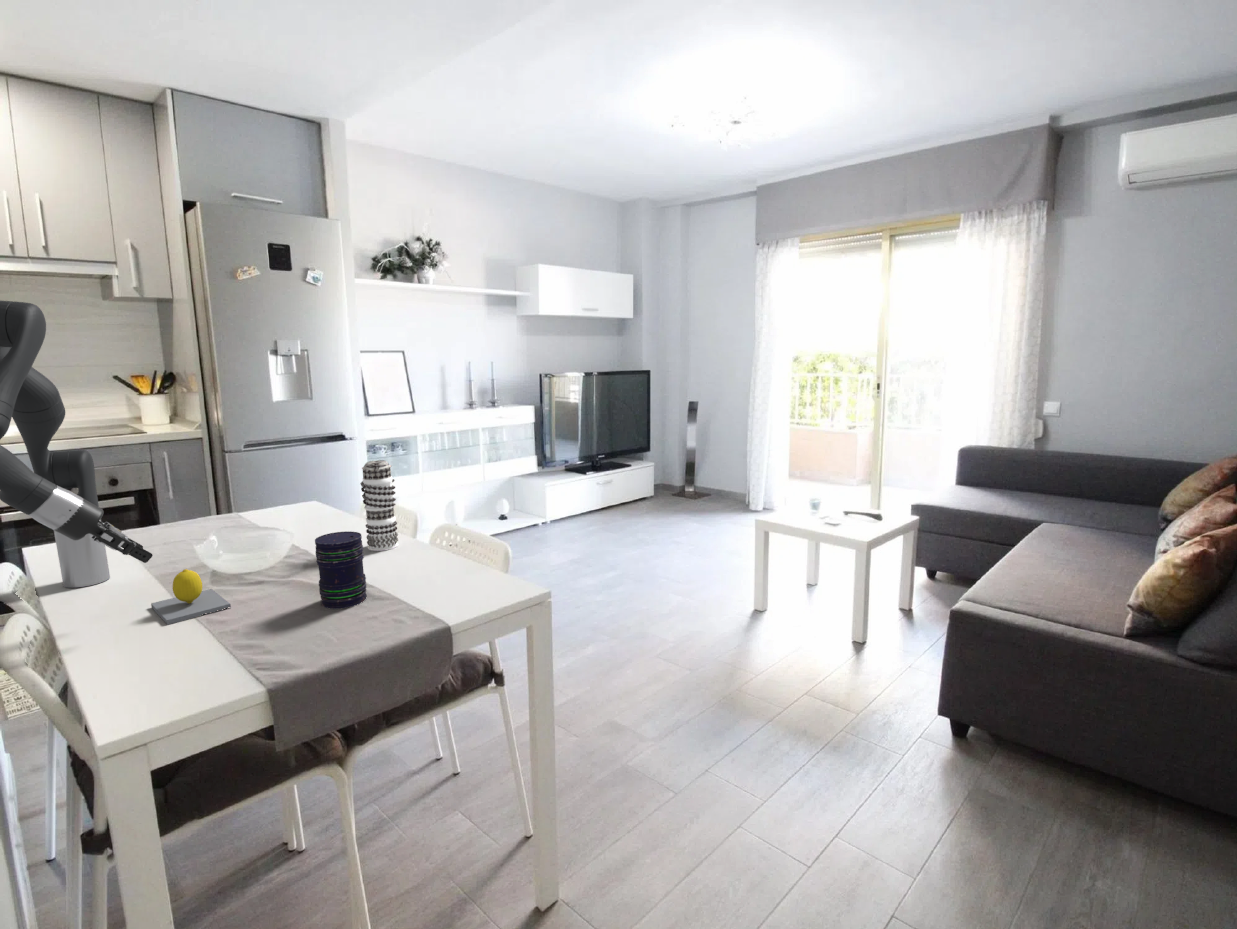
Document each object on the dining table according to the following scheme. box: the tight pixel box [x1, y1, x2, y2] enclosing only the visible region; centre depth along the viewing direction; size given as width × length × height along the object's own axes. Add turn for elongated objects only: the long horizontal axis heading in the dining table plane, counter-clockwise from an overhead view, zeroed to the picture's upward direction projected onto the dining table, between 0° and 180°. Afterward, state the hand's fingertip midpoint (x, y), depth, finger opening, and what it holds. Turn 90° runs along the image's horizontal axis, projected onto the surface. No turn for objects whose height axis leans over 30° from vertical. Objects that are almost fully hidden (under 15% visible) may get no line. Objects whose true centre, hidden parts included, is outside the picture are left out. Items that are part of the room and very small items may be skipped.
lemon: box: [172, 568, 203, 604], centre depth 146 cm, size 6×6×8 cm
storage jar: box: [314, 530, 368, 610], centre depth 148 cm, size 10×10×15 cm
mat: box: [150, 588, 232, 626], centre depth 147 cm, size 14×12×1 cm
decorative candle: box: [359, 459, 399, 552], centre depth 188 cm, size 9×9×25 cm
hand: (144, 554), depth 139 cm, fingers open, 8 cm apart
